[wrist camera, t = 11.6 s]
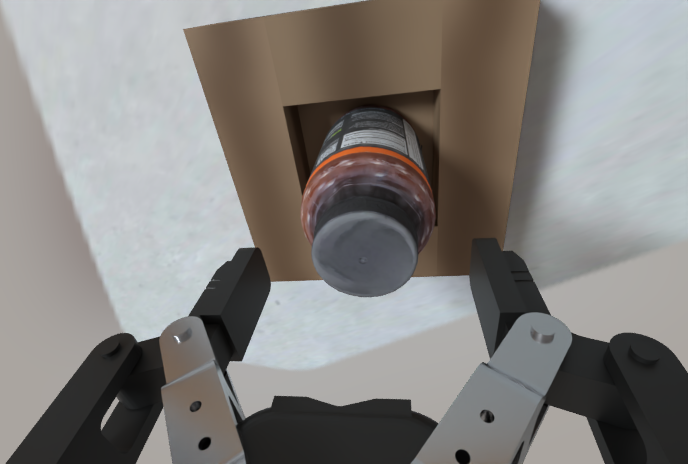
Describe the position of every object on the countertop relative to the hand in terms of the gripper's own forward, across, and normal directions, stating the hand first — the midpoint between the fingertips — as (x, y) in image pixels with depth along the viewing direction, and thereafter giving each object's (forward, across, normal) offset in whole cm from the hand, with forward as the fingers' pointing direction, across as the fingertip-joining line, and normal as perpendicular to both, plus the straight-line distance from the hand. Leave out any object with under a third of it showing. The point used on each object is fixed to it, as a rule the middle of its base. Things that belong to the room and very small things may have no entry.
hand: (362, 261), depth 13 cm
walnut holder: (+12, 0, 0) cm, 12 cm away
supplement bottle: (+11, 0, 0) cm, 11 cm away
